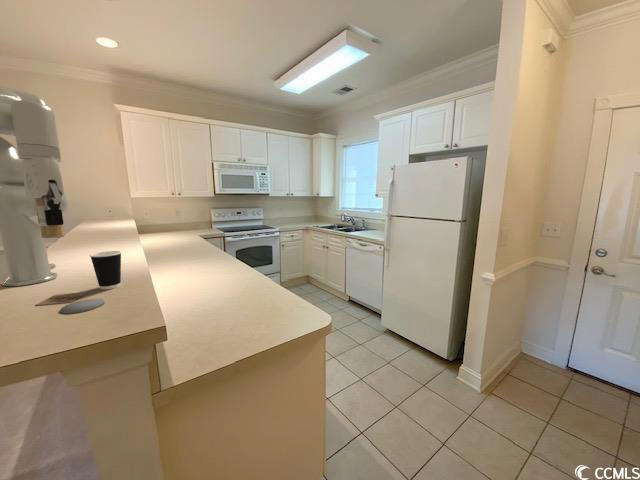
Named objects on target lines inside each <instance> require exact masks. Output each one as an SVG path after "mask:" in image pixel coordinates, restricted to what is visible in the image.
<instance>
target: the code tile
mask: <svg viewBox="0 0 640 480" xmlns="http://www.w3.org/2000/svg"><path fill="white" fill-rule="evenodd" d="M87 294H89V291H85V292H83V291H81V292H71V293H70V292H69V293H61V294H59V293H58V294H54V295H52V296H50V297H48V298H46V299H44V300H42V301H41V302H38V303H37V304H35V305H34V307H38V306H48V305H57V304H60V305H61V304H67V303H68V304H71V303H74V302H77V300H79V299H80V298H82V297H84V296H85V295H87Z"/></svg>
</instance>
